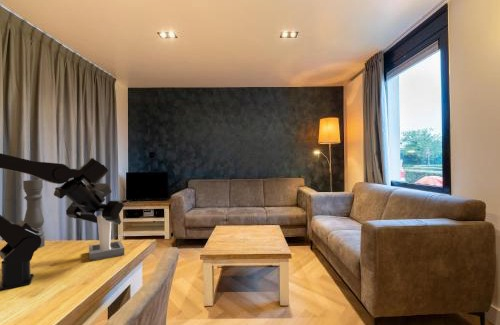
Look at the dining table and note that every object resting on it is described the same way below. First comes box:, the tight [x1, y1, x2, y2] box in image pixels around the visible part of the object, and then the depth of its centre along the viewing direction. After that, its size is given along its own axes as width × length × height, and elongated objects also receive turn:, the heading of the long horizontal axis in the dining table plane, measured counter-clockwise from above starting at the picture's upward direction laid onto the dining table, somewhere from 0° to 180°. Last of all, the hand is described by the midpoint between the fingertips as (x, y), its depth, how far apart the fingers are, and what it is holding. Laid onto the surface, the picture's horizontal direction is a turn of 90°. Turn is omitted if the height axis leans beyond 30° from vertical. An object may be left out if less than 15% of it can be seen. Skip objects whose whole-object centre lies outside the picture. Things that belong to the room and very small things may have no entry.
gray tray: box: [88, 240, 125, 262], centre depth 93 cm, size 10×10×2 cm
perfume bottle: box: [96, 213, 112, 251], centre depth 93 cm, size 5×4×15 cm
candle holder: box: [22, 179, 46, 249], centre depth 102 cm, size 6×6×25 cm
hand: (108, 222), depth 95 cm, fingers open, 9 cm apart
